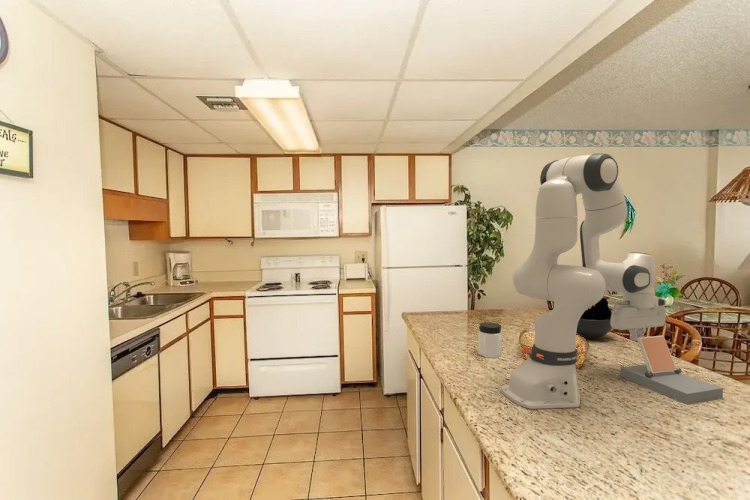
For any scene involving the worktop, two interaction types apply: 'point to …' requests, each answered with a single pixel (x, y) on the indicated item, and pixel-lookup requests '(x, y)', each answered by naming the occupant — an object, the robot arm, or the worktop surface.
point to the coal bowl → (595, 320)
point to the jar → (490, 340)
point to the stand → (673, 384)
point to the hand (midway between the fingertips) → (637, 340)
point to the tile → (656, 354)
